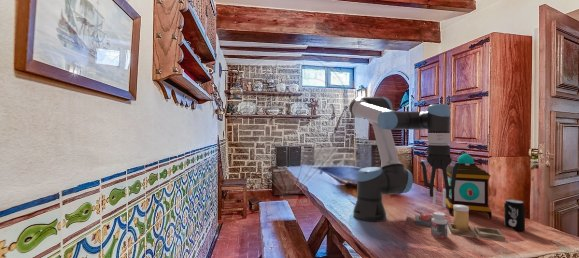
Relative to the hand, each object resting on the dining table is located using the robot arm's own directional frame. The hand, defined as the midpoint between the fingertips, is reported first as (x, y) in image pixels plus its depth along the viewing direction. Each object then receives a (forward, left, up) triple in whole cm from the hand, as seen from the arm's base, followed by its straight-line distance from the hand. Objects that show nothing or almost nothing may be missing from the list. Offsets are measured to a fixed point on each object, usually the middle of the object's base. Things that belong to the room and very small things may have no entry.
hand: (439, 205), depth 102 cm
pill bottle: (0, 0, -13) cm, 13 cm away
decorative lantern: (+16, +45, -13) cm, 49 cm away
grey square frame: (-4, +14, -13) cm, 19 cm away
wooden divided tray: (+13, +9, -13) cm, 20 cm away
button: (-4, +14, -12) cm, 19 cm away
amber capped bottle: (+8, +9, -11) cm, 17 cm away
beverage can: (+30, +25, -13) cm, 41 cm away
